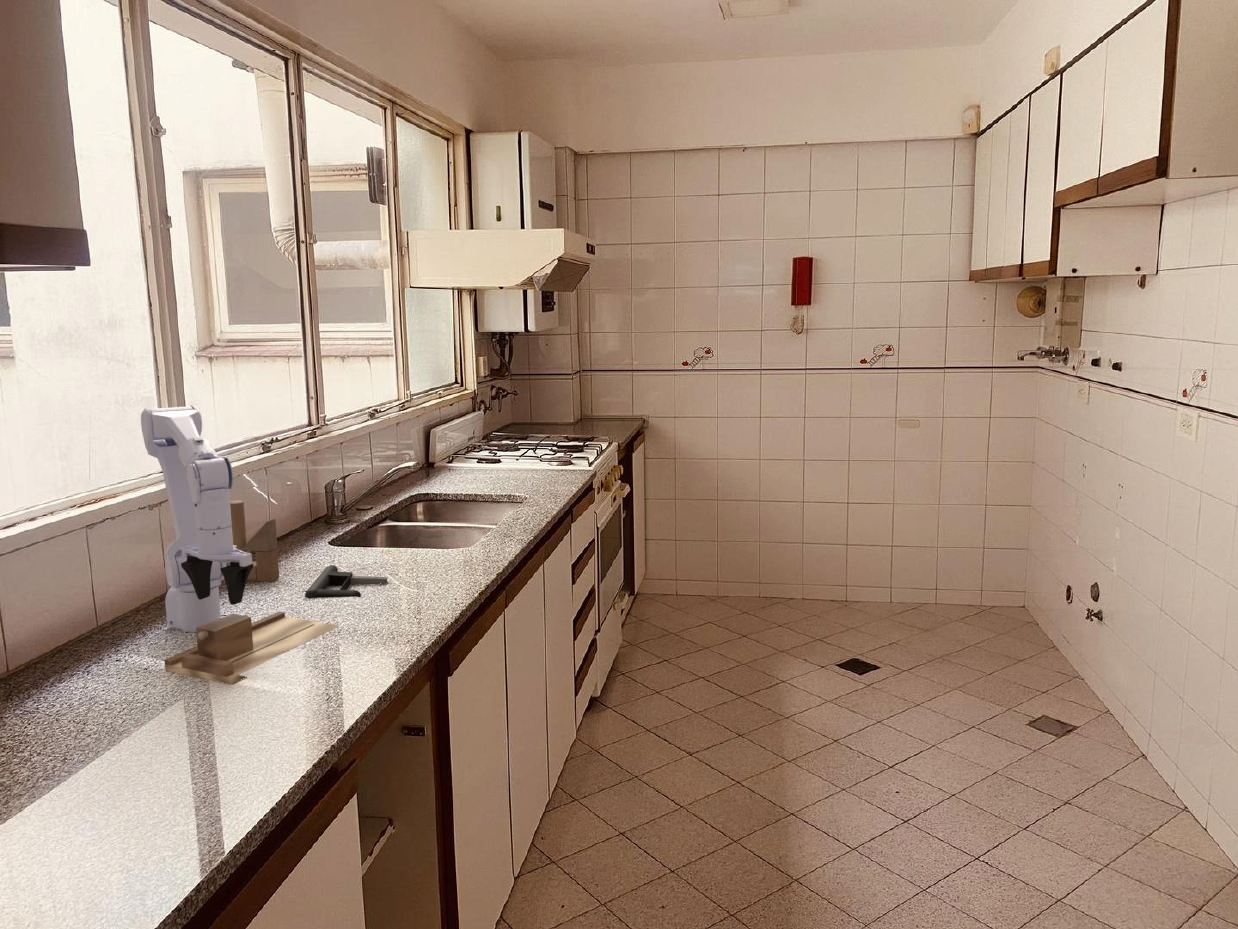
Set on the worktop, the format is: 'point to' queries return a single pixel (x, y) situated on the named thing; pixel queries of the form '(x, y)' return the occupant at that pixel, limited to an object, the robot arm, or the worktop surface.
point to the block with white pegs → (225, 637)
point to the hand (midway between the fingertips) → (219, 600)
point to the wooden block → (256, 544)
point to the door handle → (339, 583)
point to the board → (268, 643)
